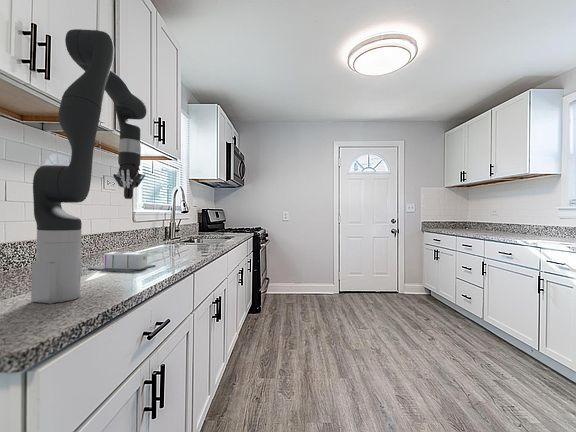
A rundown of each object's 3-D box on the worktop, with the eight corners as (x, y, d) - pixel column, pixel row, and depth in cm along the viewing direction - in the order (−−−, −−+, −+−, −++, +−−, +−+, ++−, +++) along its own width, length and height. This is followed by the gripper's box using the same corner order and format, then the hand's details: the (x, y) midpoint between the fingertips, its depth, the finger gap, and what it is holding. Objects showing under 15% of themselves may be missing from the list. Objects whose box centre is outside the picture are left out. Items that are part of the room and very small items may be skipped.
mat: (127, 272, 122) (127, 270, 122) (87, 269, 127) (87, 267, 127) (155, 266, 138) (155, 264, 138) (119, 263, 142) (119, 262, 142)
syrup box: (141, 254, 126) (103, 252, 126) (140, 269, 126) (102, 268, 126) (147, 252, 132) (111, 251, 132) (147, 267, 132) (111, 266, 132)
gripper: (107, 151, 124) (106, 198, 123) (137, 149, 120) (135, 197, 119) (122, 155, 131) (121, 199, 130) (151, 154, 127) (149, 199, 127)
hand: (128, 198), depth 125 cm, fingers closed
